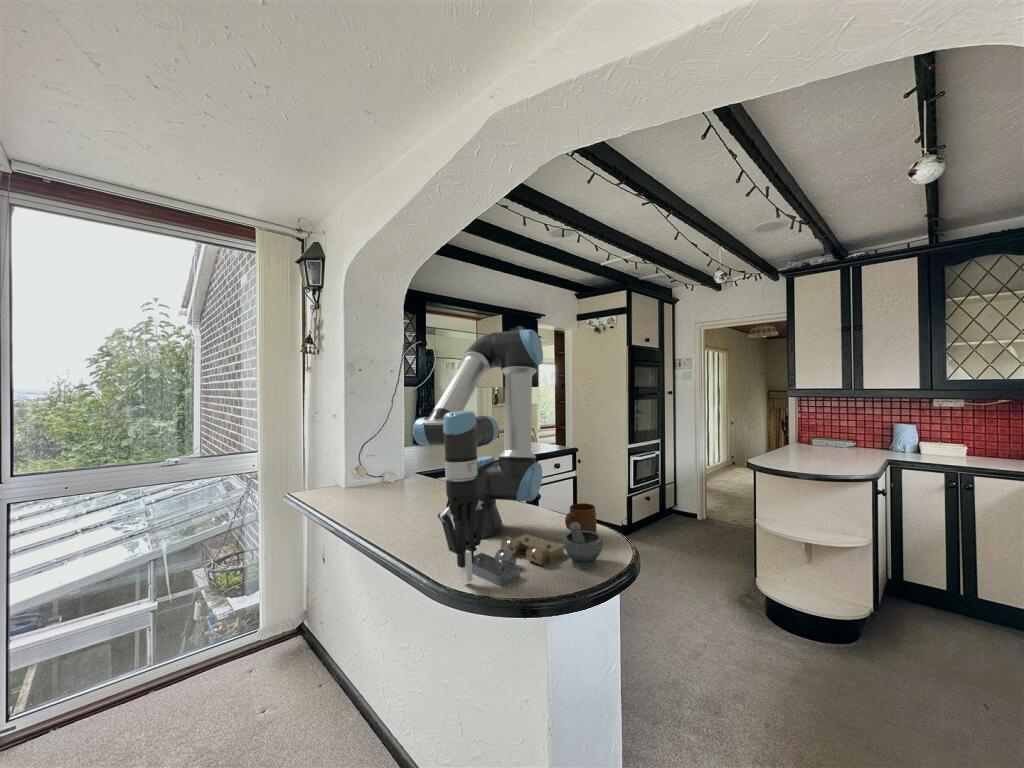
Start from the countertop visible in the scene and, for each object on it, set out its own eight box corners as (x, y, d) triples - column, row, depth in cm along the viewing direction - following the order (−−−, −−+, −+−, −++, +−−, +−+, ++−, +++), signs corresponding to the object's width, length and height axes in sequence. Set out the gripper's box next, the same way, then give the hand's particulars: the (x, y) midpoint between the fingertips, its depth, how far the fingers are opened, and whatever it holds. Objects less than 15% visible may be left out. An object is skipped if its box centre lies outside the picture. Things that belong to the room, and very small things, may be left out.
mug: (578, 550, 112) (577, 516, 112) (556, 544, 117) (555, 511, 117) (601, 537, 121) (600, 505, 121) (580, 532, 126) (579, 501, 126)
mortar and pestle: (573, 554, 110) (571, 509, 110) (607, 560, 105) (605, 513, 105) (556, 571, 100) (554, 522, 100) (594, 578, 95) (591, 527, 95)
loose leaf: (463, 570, 103) (463, 554, 103) (493, 557, 110) (492, 542, 110) (501, 588, 93) (500, 570, 93) (531, 572, 100) (530, 555, 100)
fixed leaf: (501, 553, 112) (500, 538, 112) (526, 542, 119) (525, 529, 119) (539, 567, 102) (538, 551, 102) (564, 555, 109) (563, 540, 109)
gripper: (448, 485, 88) (453, 595, 88) (493, 474, 97) (498, 574, 97) (429, 481, 93) (433, 584, 93) (473, 471, 102) (477, 565, 102)
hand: (466, 579), depth 95 cm, fingers closed
